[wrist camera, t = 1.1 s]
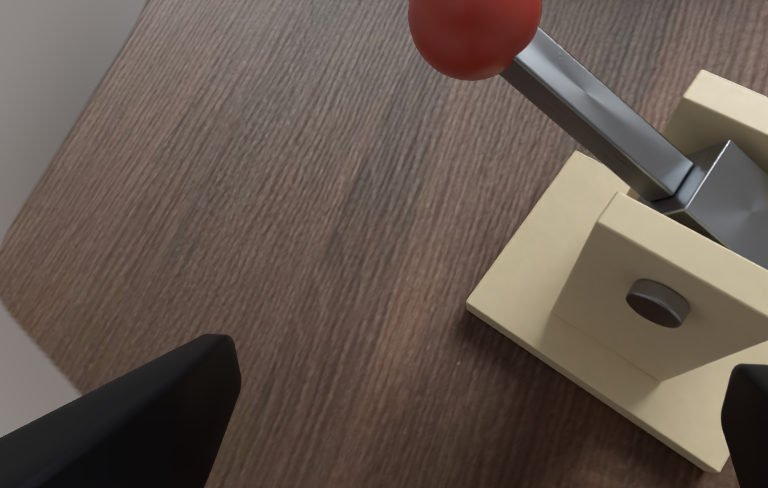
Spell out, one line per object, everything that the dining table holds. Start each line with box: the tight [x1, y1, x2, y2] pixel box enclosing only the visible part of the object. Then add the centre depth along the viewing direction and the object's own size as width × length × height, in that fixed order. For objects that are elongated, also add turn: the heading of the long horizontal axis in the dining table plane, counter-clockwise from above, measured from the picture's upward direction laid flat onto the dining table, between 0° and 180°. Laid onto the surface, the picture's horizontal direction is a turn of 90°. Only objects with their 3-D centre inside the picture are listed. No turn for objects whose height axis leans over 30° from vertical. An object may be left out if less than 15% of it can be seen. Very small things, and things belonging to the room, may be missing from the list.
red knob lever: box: [408, 0, 768, 270], centre depth 14 cm, size 11×3×3 cm, turn 52°
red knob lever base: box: [466, 70, 768, 473], centre depth 17 cm, size 10×8×10 cm
